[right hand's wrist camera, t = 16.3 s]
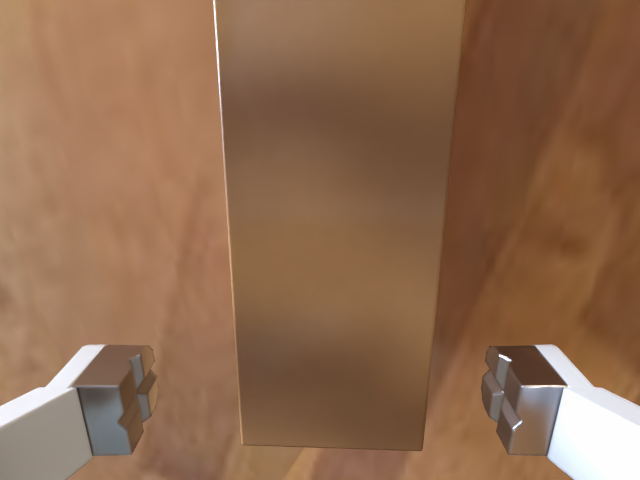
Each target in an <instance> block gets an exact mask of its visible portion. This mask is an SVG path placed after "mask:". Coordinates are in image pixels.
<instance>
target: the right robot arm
mask: <svg viewBox="0 0 640 480" xmlns="http://www.w3.org/2000/svg"><path fill="white" fill-rule="evenodd" d="M154 362H155V359H154V354H153V349H152V348H151V347H150V346H141V345H86V346H83V347H82V348H81V349H80V350H79V351H78V352H77V353H76V355H75V356H74V357H73V358H72V359H71V360H70V361H69V362H68V363H67V364H66V365H65V367H64V368H63V369H62V370H61V371H60V372H59V373H58V374H57V375H56V376H55V377H54V379H53V380H52V381H51V382H50V383H49V384H48V385H47V386H46V387H45V388H37V389H34V390H32V391H30V392H28V393H26V394H24V395H22V396H20V397H18V398H16V399H14V400H12V401H10V402H8V403H6V404H4V405H2V406H0V480H67V479H68V478H69V477H70V476H72V475H73V474H74V473H75V472H76V471H78V470H79V469H80V468H81V467H82V466H84V465H85V464H86V463H87V462H88V461H90V460H91V459H92V458H93V456H105V455H132V453H133V451H134V449H135V447H136V445H137V443H138V441H139V440H140V438H141V436H142V434H143V432H144V431H143V425H142V423H143V422H144V421H146V420H147V419H149V418H150V417H151V416H152V414H153V412H154V410H155V408H156V403H157V399H158V389H159V385H158V378H157V376H156V375H155V374H154V373H153V372H152V371H151V369H150V368H151V367H152V365H153V363H154ZM485 362H486V363H487V365H488V367H489V368H490V369H489V371H488V372H487V373H486V374H485V375H484V376H483V378H482V386H481V391H482V400H483V404H484V407H485V410H486V412H487V414H488V416H489V417H490V418H491V419H493V420H494V421H496V422H497V423H498V425H497V431H496V432H497V434H498V436H499V438H500V440H501V441H502V443H503V445H504V447H505V449H506V451H507V453H508V455H535V456H547V458H548V459H549V460H551V461H552V462H553V463H554V464H555V465H557V466H558V467H559V468H560V469H561V470H563V471H564V472H565V473H566V474H567V475H569V476H570V477H571V478H572V479H573V480H640V406H638V405H636V404H634V403H632V402H630V401H628V400H626V399H624V398H622V397H620V396H618V395H616V394H614V393H612V392H610V391H608V390H606V389H603V388H595V387H594V386H593V385H592V384H591V383H590V382H589V381H588V380H587V379H586V377H585V376H584V375H583V374H582V373H581V372H580V371H579V370H578V369H577V368H576V367H575V365H574V364H573V363H572V362H571V361H570V360H569V359H568V358H567V357H566V356H565V355H564V353H563V352H562V351H561V350H560V349H559V348H558V347H557V346H554V345H552V344H550V345H531V346H489V348H488V350H487V353H486V359H485Z"/></svg>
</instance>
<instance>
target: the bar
mask: <svg viewBox="0 0 640 480" xmlns="http://www.w3.org/2000/svg"><path fill="white" fill-rule="evenodd" d="M213 6H214V21H215V37H216V53H217V68H218V84H219V100H220V115H221V131H222V147H223V162H224V178H225V194H226V210H227V225H228V241H229V257H230V272H231V288H232V304H233V319H234V335H235V351H236V367H237V382H238V398H239V414H240V429H241V443H242V445H255V446H285V447H314V448H344V449H373V450H402V451H422V449H423V441H424V431H425V420H426V410H427V400H428V389H429V379H430V369H431V358H432V348H433V338H434V327H435V317H436V307H437V296H438V286H439V276H440V265H441V255H442V245H443V234H444V224H445V214H446V203H447V193H448V183H449V172H450V162H451V152H452V141H453V131H454V121H455V110H456V100H457V90H458V79H459V69H460V59H461V48H462V38H463V28H464V17H465V7H466V0H213Z"/></svg>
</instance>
